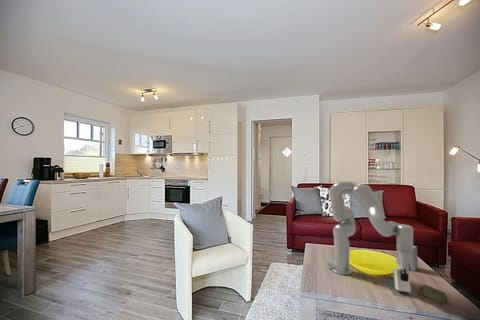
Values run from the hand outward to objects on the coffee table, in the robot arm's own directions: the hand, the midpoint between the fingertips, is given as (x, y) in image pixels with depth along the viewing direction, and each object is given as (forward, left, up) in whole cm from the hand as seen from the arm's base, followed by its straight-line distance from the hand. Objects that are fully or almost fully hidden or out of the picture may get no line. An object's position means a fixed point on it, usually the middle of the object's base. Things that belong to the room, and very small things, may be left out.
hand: (404, 280), depth 130 cm
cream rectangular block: (0, +2, -7) cm, 7 cm away
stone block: (+14, +2, -8) cm, 17 cm away
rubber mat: (0, +7, -8) cm, 11 cm away
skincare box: (+16, +41, -8) cm, 45 cm away
